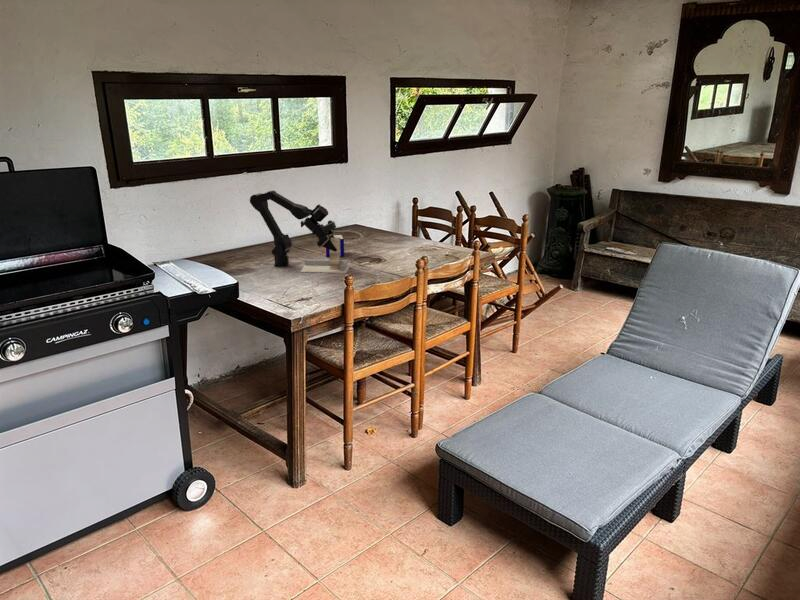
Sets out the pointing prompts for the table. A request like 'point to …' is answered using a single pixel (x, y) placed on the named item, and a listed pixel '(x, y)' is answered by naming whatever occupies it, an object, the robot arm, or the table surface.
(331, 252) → the birch block
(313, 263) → the tray
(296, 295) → the table surface
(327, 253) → the puzzle cube
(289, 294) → the table surface
